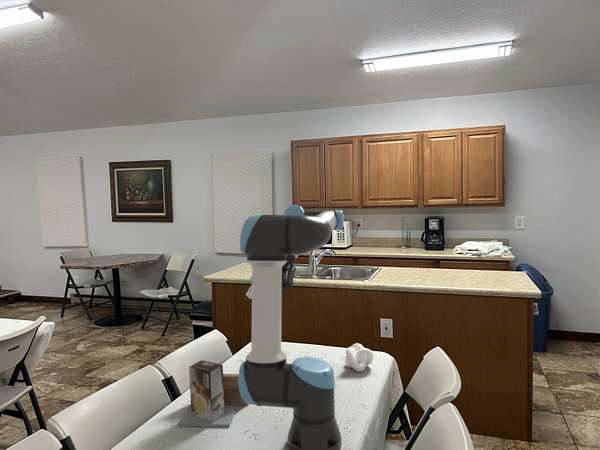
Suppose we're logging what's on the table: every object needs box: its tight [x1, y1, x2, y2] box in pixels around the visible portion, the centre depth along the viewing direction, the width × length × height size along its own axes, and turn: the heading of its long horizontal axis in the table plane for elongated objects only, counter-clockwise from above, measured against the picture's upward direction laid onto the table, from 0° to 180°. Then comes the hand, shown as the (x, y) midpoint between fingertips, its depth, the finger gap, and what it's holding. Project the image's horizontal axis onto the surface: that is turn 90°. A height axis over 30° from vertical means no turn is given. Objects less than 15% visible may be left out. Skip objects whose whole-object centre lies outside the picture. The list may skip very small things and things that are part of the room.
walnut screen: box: [223, 373, 249, 406], centre depth 141 cm, size 2×19×10 cm, turn 88°
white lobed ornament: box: [344, 342, 375, 373], centre depth 169 cm, size 11×12×9 cm
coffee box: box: [188, 359, 225, 422], centre depth 132 cm, size 9×6×16 cm
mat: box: [177, 405, 237, 428], centre depth 132 cm, size 11×16×1 cm
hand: (260, 299), depth 152 cm, fingers open, 13 cm apart
